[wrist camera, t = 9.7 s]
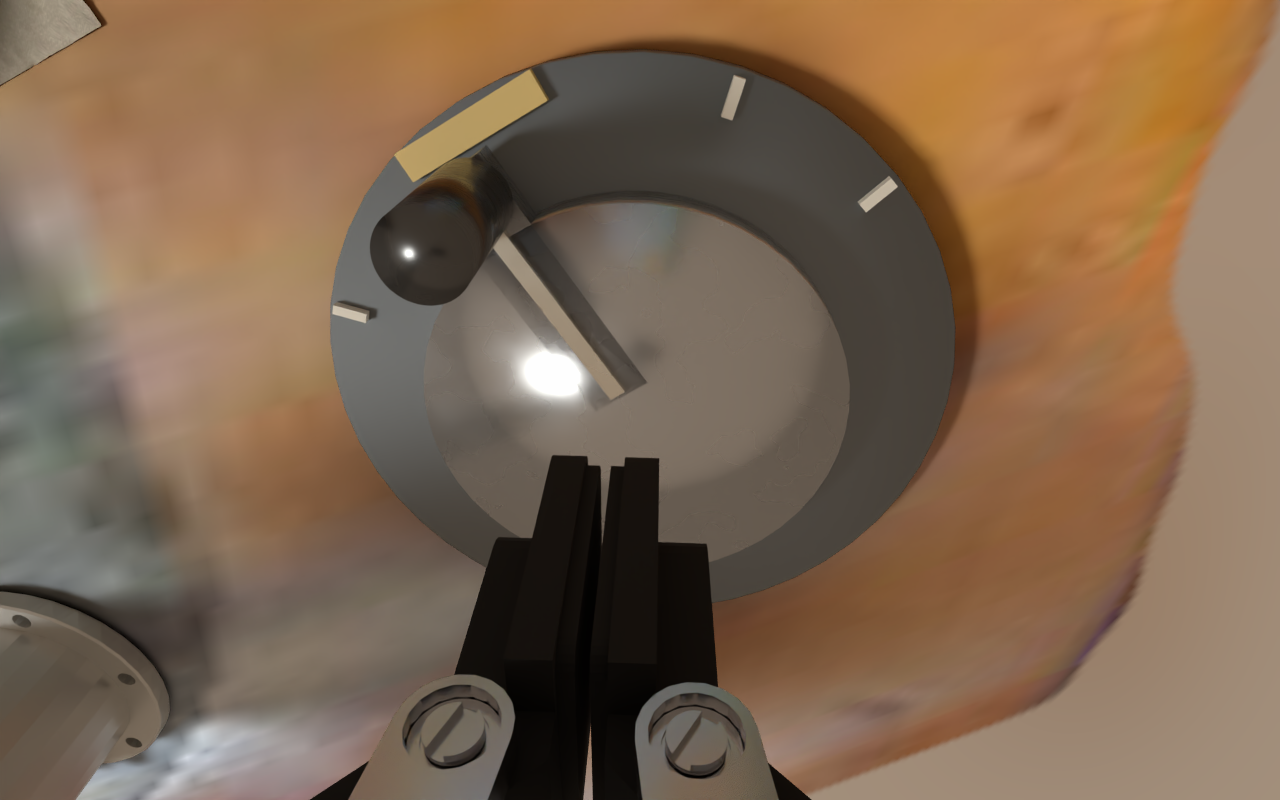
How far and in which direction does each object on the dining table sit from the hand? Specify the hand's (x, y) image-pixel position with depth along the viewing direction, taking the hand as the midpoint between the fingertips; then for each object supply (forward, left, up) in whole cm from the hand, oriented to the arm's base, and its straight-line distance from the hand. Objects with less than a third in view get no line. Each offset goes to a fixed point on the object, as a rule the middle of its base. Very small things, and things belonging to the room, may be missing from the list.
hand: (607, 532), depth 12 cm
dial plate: (-6, -1, -16) cm, 17 cm away
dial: (-5, 0, -15) cm, 16 cm away
